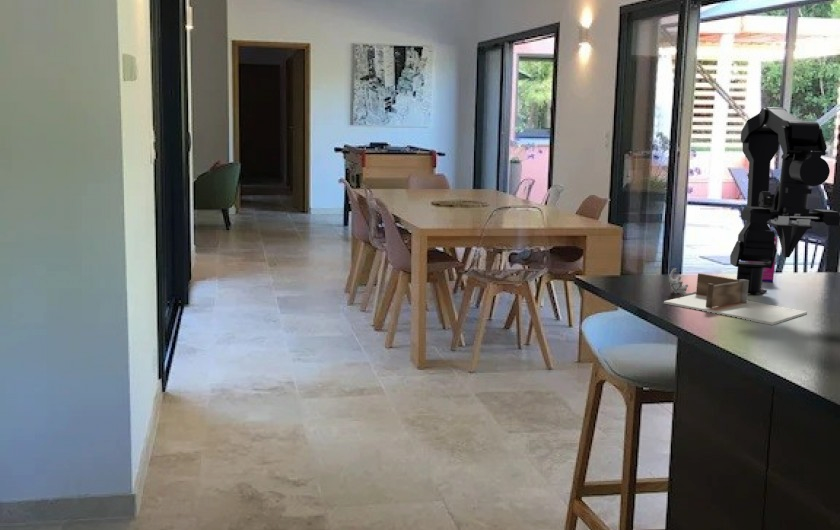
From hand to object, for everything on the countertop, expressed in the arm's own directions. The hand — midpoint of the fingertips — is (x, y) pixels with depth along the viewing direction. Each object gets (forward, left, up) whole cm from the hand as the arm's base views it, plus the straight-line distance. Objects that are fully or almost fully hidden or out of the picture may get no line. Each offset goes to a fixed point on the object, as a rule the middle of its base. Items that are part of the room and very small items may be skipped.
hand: (786, 257), depth 184 cm
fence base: (-1, -14, -11) cm, 18 cm away
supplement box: (-36, -21, -12) cm, 44 cm away
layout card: (+4, -8, -12) cm, 15 cm away
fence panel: (+6, -10, -11) cm, 16 cm away
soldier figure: (-1, -24, -12) cm, 27 cm away
